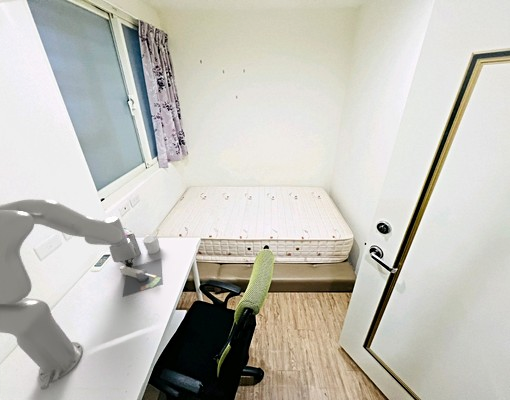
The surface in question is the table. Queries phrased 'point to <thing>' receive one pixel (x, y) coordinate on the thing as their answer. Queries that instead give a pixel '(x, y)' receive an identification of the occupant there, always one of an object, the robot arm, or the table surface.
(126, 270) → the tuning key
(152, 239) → the white cup
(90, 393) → the table surface
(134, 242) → the candy bar box
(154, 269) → the tuner board
